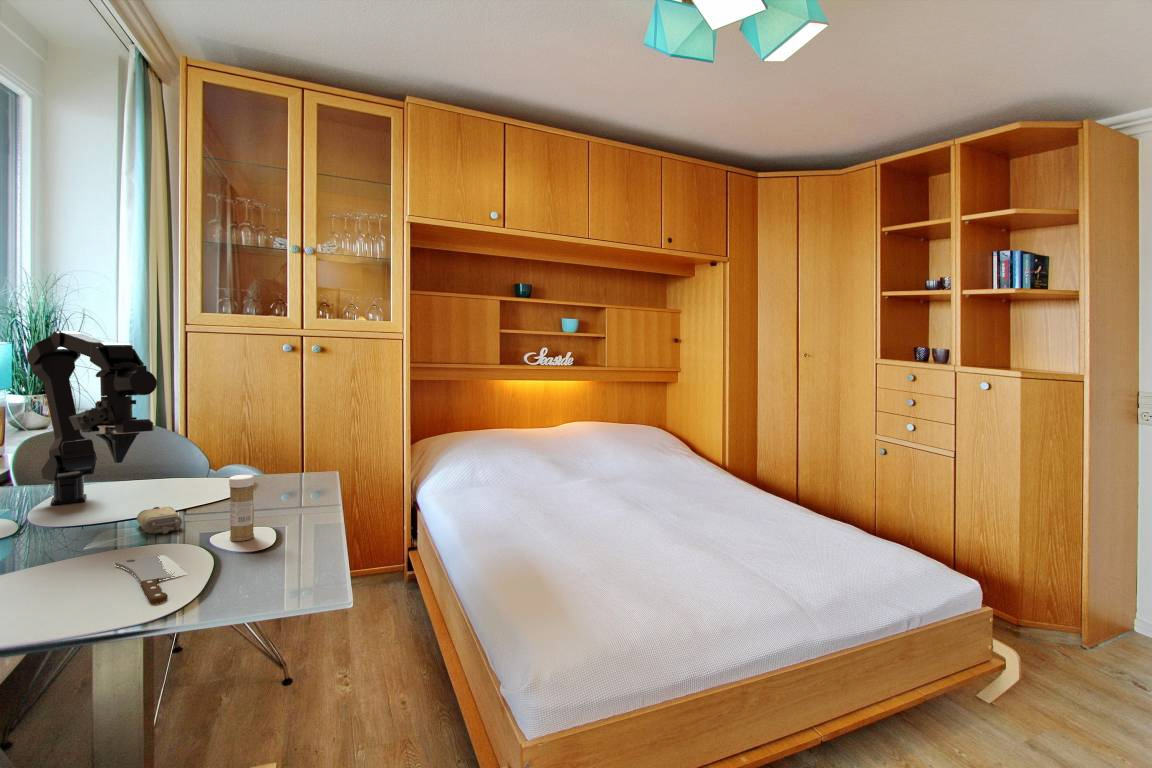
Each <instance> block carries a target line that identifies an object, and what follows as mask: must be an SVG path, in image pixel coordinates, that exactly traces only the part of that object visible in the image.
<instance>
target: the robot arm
mask: <svg viewBox="0 0 1152 768" xmlns="http://www.w3.org/2000/svg"><path fill="white" fill-rule="evenodd" d="M81 355H83V356H86V357H88V358H89V362H90V363H92V364H93V365H95V366H96V367H98V368H99V369H100V370H99V371H98V372H96V374H95V377H96V378H100V400H97V401H96V402H95V405H94V406H95V407H91V408H90V409H86V410H84V411H81V412H78V413H77V409H76V406H75V400H74V396H73V390H72V385H71V381H70V380H71V379H70V378H71V376H72V375H73V373H74V371H75V370H76V362H77V360H79V358H80V357H81ZM26 360H27V363H28V364H29V366H30V370H31V372H32V374H33V375H34V376H36V377H37V378H38V379H39V380H40V381H41V382H42V383H43V387H44V390H45V391H44V392H45V396H46V401H47V406H48V410H49V416H50V419H51V425H52V429H53V435H54V440H53V443H52V445H51V447H50V448H49V449H48V450H49V451H48V456H49V458H48V459H47V461H46V463H45V464H44V466H42V469H41V475H42V479H43V480H48V481H53V485H52V486H53V487H52V489H53V497H52V498H51V500H50V506H54V505H64V504H66V505H67V504H72V503H73V504H75V503H82V502H86V501H87V494H86V493H85V488H84V487H85V482H84V481H85V479H84V476H89V475H90V476H91V475H94V472H95V468H96V464H97V460H98V459H97V458H98V457H97V453H96V451H95V449H94V442H93V440H92V439H91V438H86V437H85V436H83V435H82V434H81V432H82V433H91V432H93V433H94V434H95V436H97V437H99V438H101V439H102V440H103V441H105V443H106V445H107V447H108V449H109V451H110V454H111V457H112V459H113V462H114V463H115V464H120V463H123V461H124V459H125V457H126V455H127V453H128V451H129V450H130V448H131V446H132V444H133V443H134V441H135V440H136V438H137V436H138V435H140V433H141V432H154V422H153V421H151V419H149V418H148V419H147V418H139V419H137V417H136V416H135V417H134V416H133V405H137V399H133V396H134V397H135V396H148V395H151V394H153V392H155V390H156V388H157V386H158V380H157V379H156V377H155V375H154V374H153V373H152V372H150V371H148V369H147V365H145V363H144V361H142V360H141V358H140V356H139V355H138V353H137V350H136V349H135V348H134V346H133V345H132V344H131V343H129V342H115V341H113V342H111V341H109V342H108V341H104V340H101V339H98V338H95V337H91V336H89V335H86V334H83V333H82V332H78V330H57V331H54V332H52V333H51V334H50V336H48V337H46V338H44V339H42V340H40V341H37V342H35V343H34V344H33V346H31V348H30V350H28V352H27V355H26ZM95 432H98V433H95Z"/></svg>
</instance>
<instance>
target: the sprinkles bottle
mask: <svg viewBox="0 0 1152 768" xmlns="http://www.w3.org/2000/svg"><path fill="white" fill-rule="evenodd" d="M254 485H255V476H254V475H253V474H238V475H232V476H230V477H229V479H228V486H229V492H230V493H229V496H230V500H229V526H230V528H229V529H230V530H229V531H230V537H229V540H230V541H232V542H245V540H246V541H249V540H251V539H253V538H254V537H255V533H254V521H255V520H254V519H255V511H254V510H255V509H254V487H255V486H254Z"/></svg>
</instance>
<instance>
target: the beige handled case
mask: <svg viewBox="0 0 1152 768" xmlns="http://www.w3.org/2000/svg"><path fill="white" fill-rule="evenodd" d="M136 521H137V523H138V524H139V525H140V526H141V528H142V530H143V531H144V532H145V533H148V534H159V533H161V534H168V533H169V532H171V531H175V532H176V531H177V532H178V531H179V530H180V527H181V526H182V524H183V518H181V516H180V515H179V514H178V513H177V512H176V510H175V509H174V508H173V507H171V506H163V507H160V506H155V507H153V508H150V509H143V510H142V511H140V512H139V513H138V514H137V515H136Z"/></svg>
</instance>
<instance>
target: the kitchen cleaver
mask: <svg viewBox="0 0 1152 768" xmlns="http://www.w3.org/2000/svg"><path fill="white" fill-rule="evenodd" d="M159 555H160V554H155V555H147V556H146V555H145V556H139V557H138V556H137V557H130V558H129V557H128V558H123V559H121V558H120V559H119V560H116V561H115V562H114V566H115V565H116V566H119V567H123V568H125V569H127V570H129V571H130V572H131V573H133V575H135V576H136V578H137V579H138V580H137V579H136V578H135V579H136V580H137V582H138V581H139V582H140V583H139V582H138V583H139V585H140V584H141V585H140V588H141V587H142V588H141V589H143V590H142V591H144V592H143V593H144V596H145V597H146V596H147V597H146V599H147V598H148V599H147V601H148V600H149V601H148V603H149V602H150V603H149V604H151V603H152V604H151V605H157V604H156V603H158V604H161V603H160V602H162V603H164V602H166V601H167V600H168V596H169V595H168V594H167V593H166V592H163V591H162V590H163V589H162V588H161V585H159V582H158V581H159V580H163V579H166V578H171V577H175V576H172V575H173V574H174V573H175V572H174V573H173V574H172V573H171V574H172V575H171V574H169V573H168V572H166V571H165V570H166V569H163V567H164V566H162V565H163V564H162V561H160V559H159V558H158V556H159ZM159 557H160V556H159ZM159 561H160V562H159ZM130 572H129V573H130ZM170 572H171V571H170ZM131 573H130V574H131ZM167 573H168V574H167ZM133 575H132V576H133ZM157 584H158V585H157ZM166 599H167V600H166ZM165 600H166V601H165ZM163 601H164V602H163Z"/></svg>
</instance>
